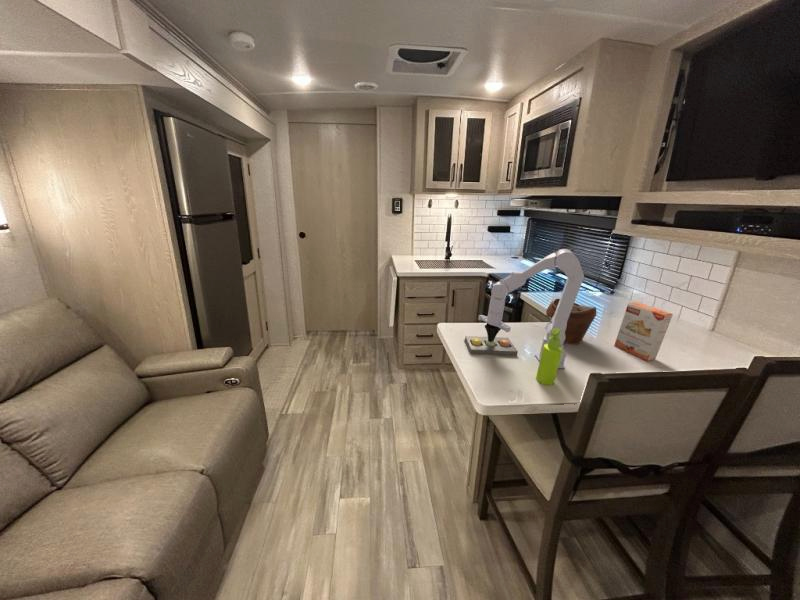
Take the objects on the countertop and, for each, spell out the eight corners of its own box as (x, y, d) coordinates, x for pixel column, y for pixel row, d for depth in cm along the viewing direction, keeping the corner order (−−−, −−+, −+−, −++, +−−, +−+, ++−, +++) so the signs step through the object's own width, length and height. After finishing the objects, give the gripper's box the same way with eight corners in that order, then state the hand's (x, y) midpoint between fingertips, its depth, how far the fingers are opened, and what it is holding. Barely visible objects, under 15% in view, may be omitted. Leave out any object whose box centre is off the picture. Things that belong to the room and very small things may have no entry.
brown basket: (539, 325, 152) (547, 292, 146) (584, 333, 146) (594, 299, 140) (543, 341, 137) (552, 305, 130) (592, 351, 131) (604, 313, 124)
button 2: (510, 350, 127) (511, 343, 126) (500, 349, 127) (501, 343, 126) (506, 345, 130) (508, 339, 129) (497, 345, 130) (498, 339, 129)
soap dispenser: (532, 380, 107) (543, 329, 100) (539, 373, 111) (551, 324, 104) (549, 388, 103) (562, 336, 96) (556, 380, 107) (569, 330, 101)
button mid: (495, 349, 126) (497, 343, 125) (486, 349, 126) (487, 342, 125) (493, 345, 130) (494, 338, 129) (484, 344, 130) (485, 338, 129)
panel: (517, 355, 123) (517, 351, 122) (470, 353, 123) (471, 349, 122) (507, 341, 134) (508, 337, 134) (464, 340, 134) (465, 335, 133)
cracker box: (613, 346, 135) (627, 302, 128) (621, 344, 138) (636, 301, 130) (647, 362, 123) (664, 314, 116) (656, 359, 125) (673, 313, 118)
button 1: (481, 349, 126) (482, 342, 125) (472, 348, 126) (473, 342, 125) (479, 344, 130) (480, 338, 129) (470, 344, 130) (471, 337, 129)
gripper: (517, 315, 120) (511, 345, 124) (487, 303, 130) (483, 332, 135) (506, 318, 116) (501, 350, 120) (477, 306, 126) (472, 335, 131)
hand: (490, 340), depth 127 cm, fingers closed, pressing on button mid
